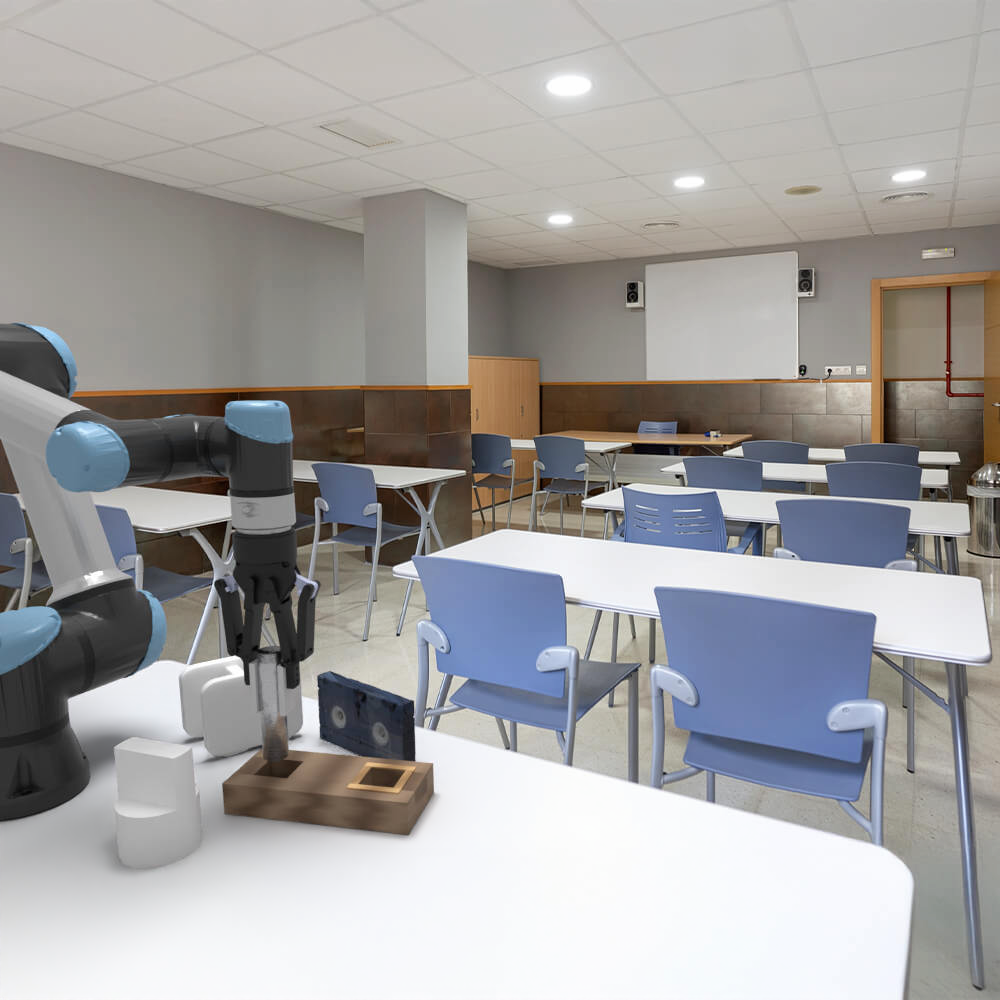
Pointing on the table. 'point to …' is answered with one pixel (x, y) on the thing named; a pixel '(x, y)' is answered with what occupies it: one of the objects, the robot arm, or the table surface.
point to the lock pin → (271, 705)
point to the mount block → (332, 790)
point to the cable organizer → (225, 707)
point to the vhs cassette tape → (365, 718)
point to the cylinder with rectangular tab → (156, 803)
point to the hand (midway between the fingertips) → (273, 710)
